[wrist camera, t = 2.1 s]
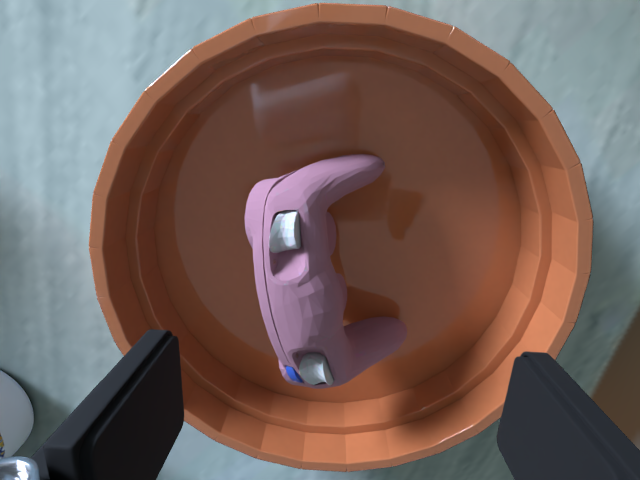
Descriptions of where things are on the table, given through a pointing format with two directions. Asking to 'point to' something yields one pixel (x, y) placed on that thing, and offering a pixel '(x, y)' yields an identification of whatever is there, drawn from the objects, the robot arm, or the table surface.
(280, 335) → the video game controller
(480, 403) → the catchall bowl
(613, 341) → the table surface
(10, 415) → the bath foam
